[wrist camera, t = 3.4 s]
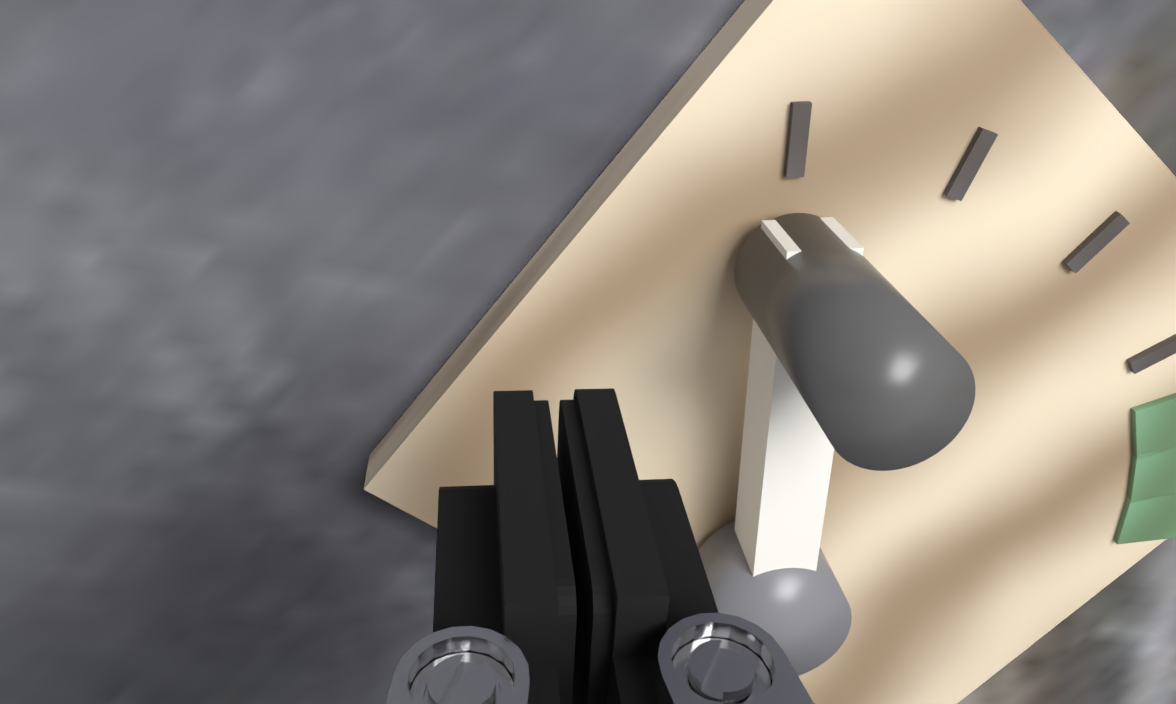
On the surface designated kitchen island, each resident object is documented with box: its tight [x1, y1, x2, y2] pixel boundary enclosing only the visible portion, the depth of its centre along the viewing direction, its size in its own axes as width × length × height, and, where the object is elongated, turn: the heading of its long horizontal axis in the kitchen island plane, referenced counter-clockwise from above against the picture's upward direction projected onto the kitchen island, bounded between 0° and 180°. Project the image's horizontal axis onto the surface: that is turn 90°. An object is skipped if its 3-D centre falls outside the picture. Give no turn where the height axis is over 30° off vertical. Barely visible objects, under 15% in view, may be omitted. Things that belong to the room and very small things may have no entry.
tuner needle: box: [699, 213, 976, 676], centre depth 20 cm, size 12×4×6 cm, turn 0°
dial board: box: [364, 0, 1176, 704], centre depth 24 cm, size 20×18×2 cm
